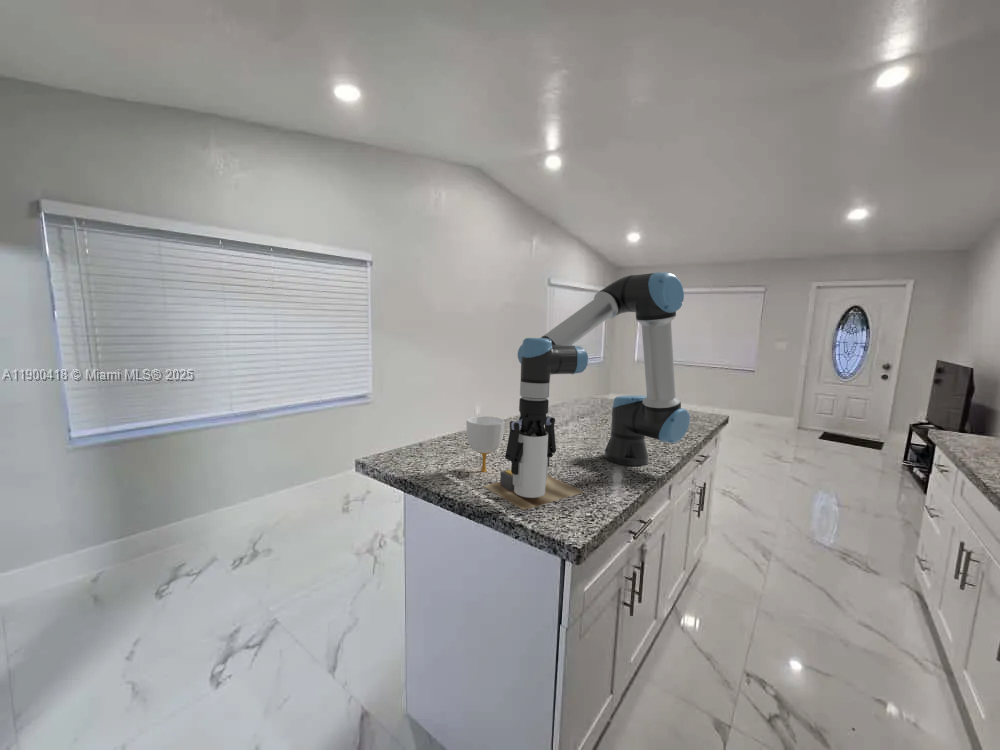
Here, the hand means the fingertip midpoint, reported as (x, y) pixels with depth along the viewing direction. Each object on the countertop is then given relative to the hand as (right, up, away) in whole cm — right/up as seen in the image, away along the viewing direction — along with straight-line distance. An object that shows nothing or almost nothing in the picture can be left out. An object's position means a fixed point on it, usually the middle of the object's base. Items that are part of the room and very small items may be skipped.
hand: (530, 482), depth 112 cm
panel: (+1, -5, +7) cm, 8 cm away
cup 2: (0, -3, 0) cm, 3 cm away
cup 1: (-13, -3, +20) cm, 24 cm away
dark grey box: (-4, -3, +8) cm, 10 cm away
